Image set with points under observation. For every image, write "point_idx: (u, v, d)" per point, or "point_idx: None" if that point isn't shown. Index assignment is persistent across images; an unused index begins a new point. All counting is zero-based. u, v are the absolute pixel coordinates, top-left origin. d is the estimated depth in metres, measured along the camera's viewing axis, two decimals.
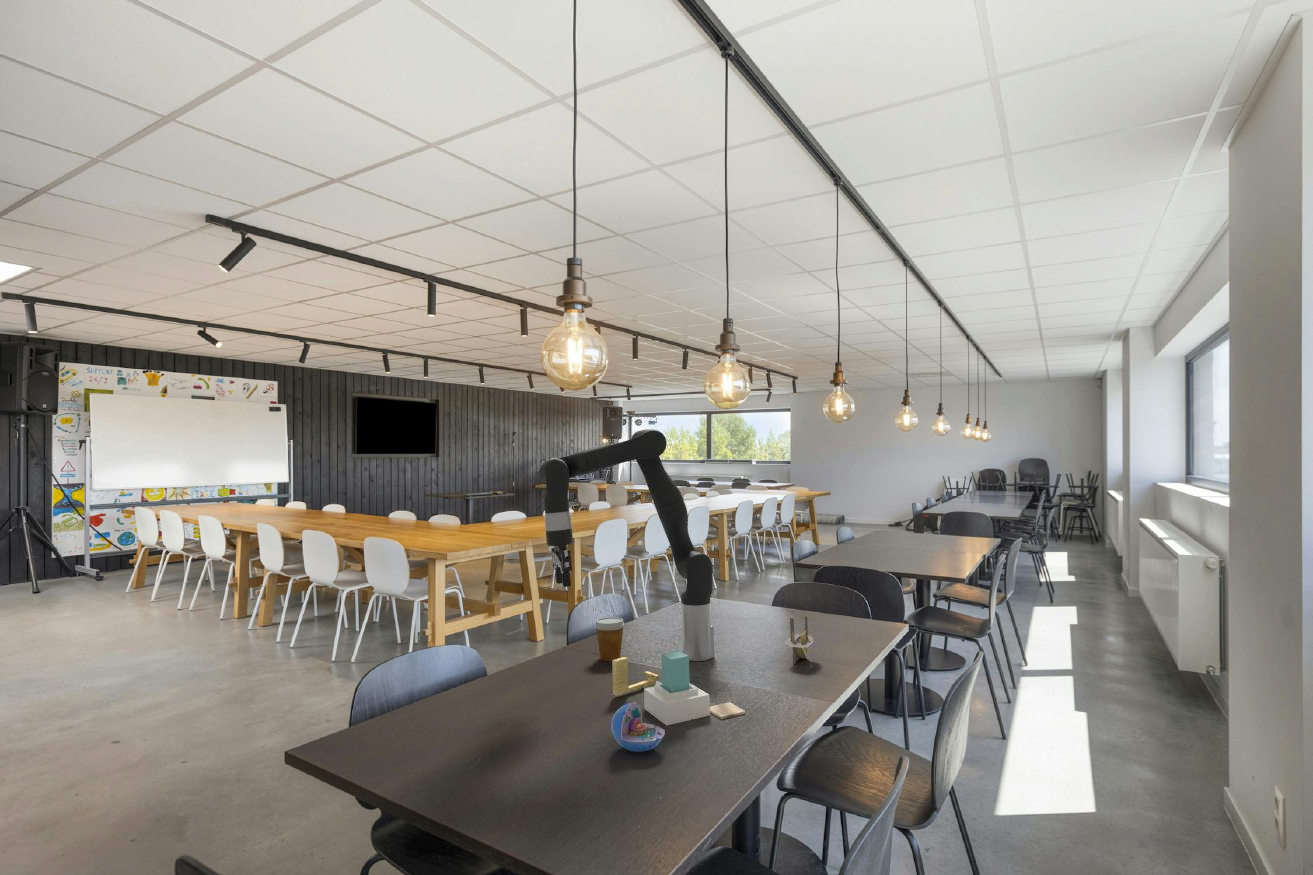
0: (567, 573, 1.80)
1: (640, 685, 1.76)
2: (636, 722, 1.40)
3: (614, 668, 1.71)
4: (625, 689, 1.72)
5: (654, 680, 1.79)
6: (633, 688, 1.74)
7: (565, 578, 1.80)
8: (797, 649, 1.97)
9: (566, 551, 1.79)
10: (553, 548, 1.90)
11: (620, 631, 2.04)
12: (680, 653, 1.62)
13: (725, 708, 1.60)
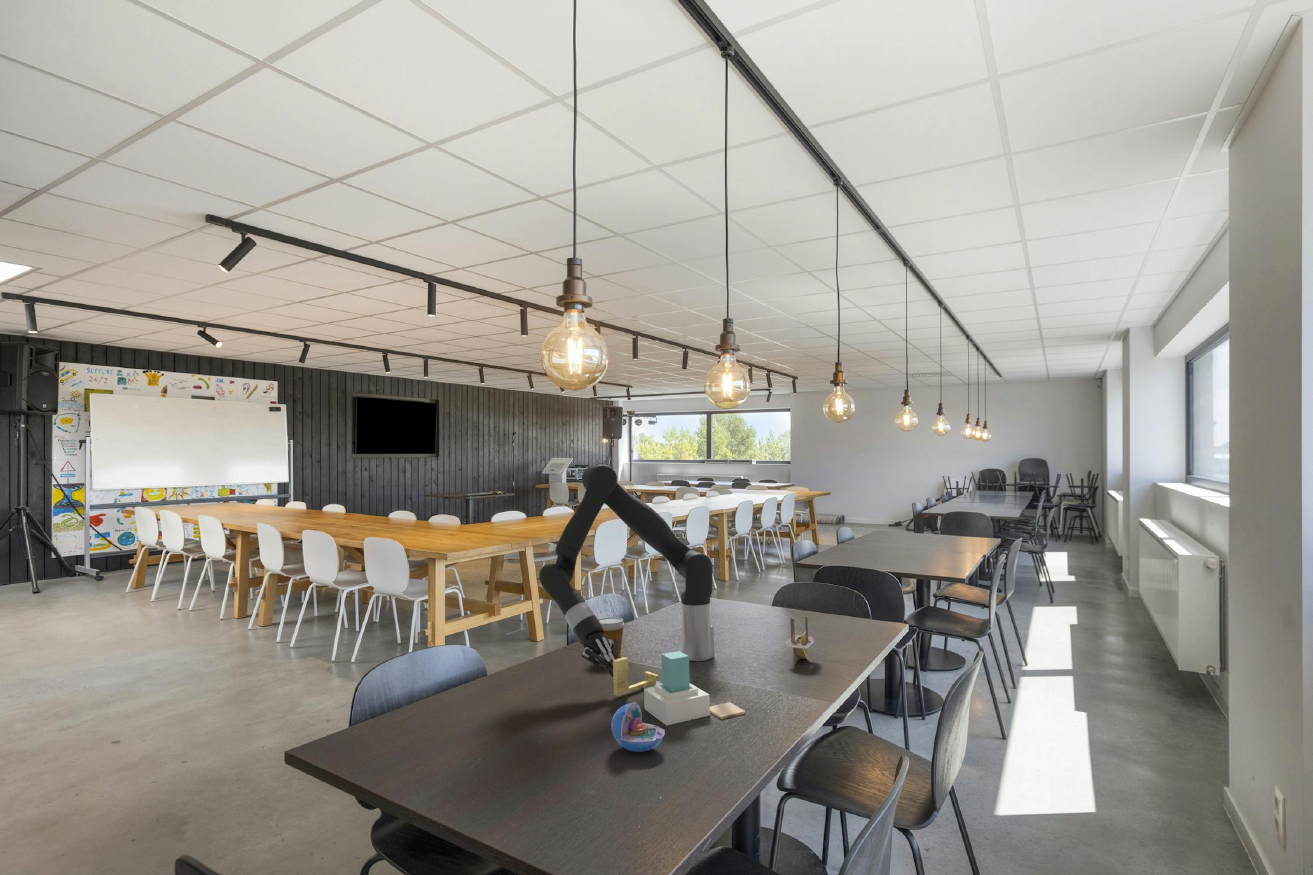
0: (606, 664, 1.73)
1: (640, 685, 1.76)
2: (636, 722, 1.40)
3: (615, 668, 1.71)
4: (626, 689, 1.72)
5: (654, 680, 1.79)
6: (633, 688, 1.74)
7: (607, 670, 1.73)
8: (797, 650, 1.96)
9: (585, 653, 1.72)
10: None
11: (620, 631, 2.04)
12: (680, 653, 1.62)
13: (725, 708, 1.60)
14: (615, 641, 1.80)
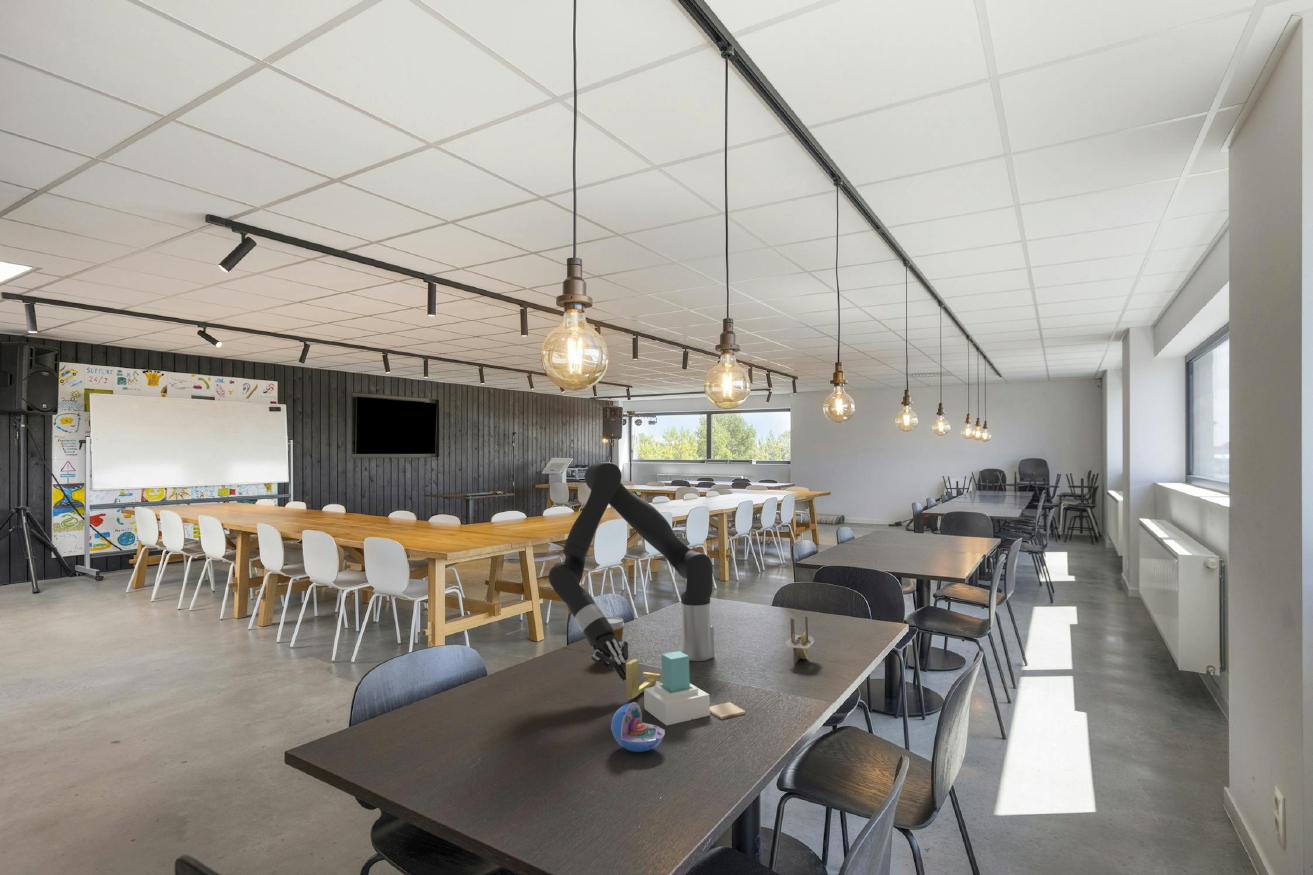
0: (616, 667, 1.71)
1: (646, 686, 1.75)
2: (636, 722, 1.40)
3: (628, 671, 1.68)
4: (637, 691, 1.70)
5: (655, 680, 1.79)
6: (641, 690, 1.73)
7: (618, 672, 1.71)
8: (797, 650, 1.96)
9: (595, 656, 1.70)
10: None
11: (620, 631, 2.04)
12: (680, 653, 1.62)
13: (725, 708, 1.60)
14: (625, 643, 1.78)
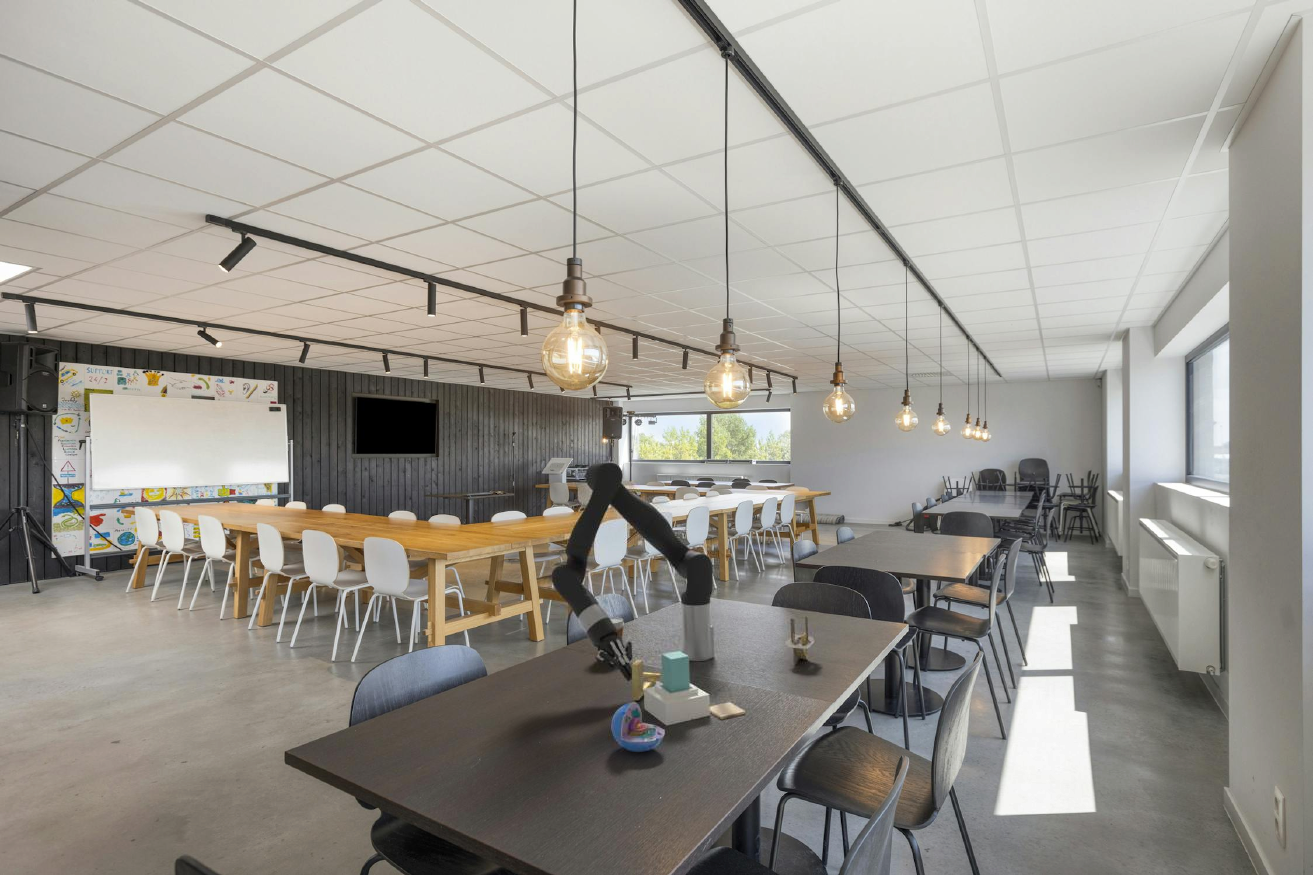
0: (621, 667, 1.70)
1: (648, 686, 1.75)
2: (636, 722, 1.40)
3: (635, 672, 1.67)
4: (642, 692, 1.70)
5: (655, 679, 1.79)
6: None
7: (622, 673, 1.70)
8: (797, 650, 1.96)
9: (599, 656, 1.69)
10: None
11: (620, 631, 2.04)
12: (680, 653, 1.62)
13: (725, 708, 1.60)
14: (629, 643, 1.77)
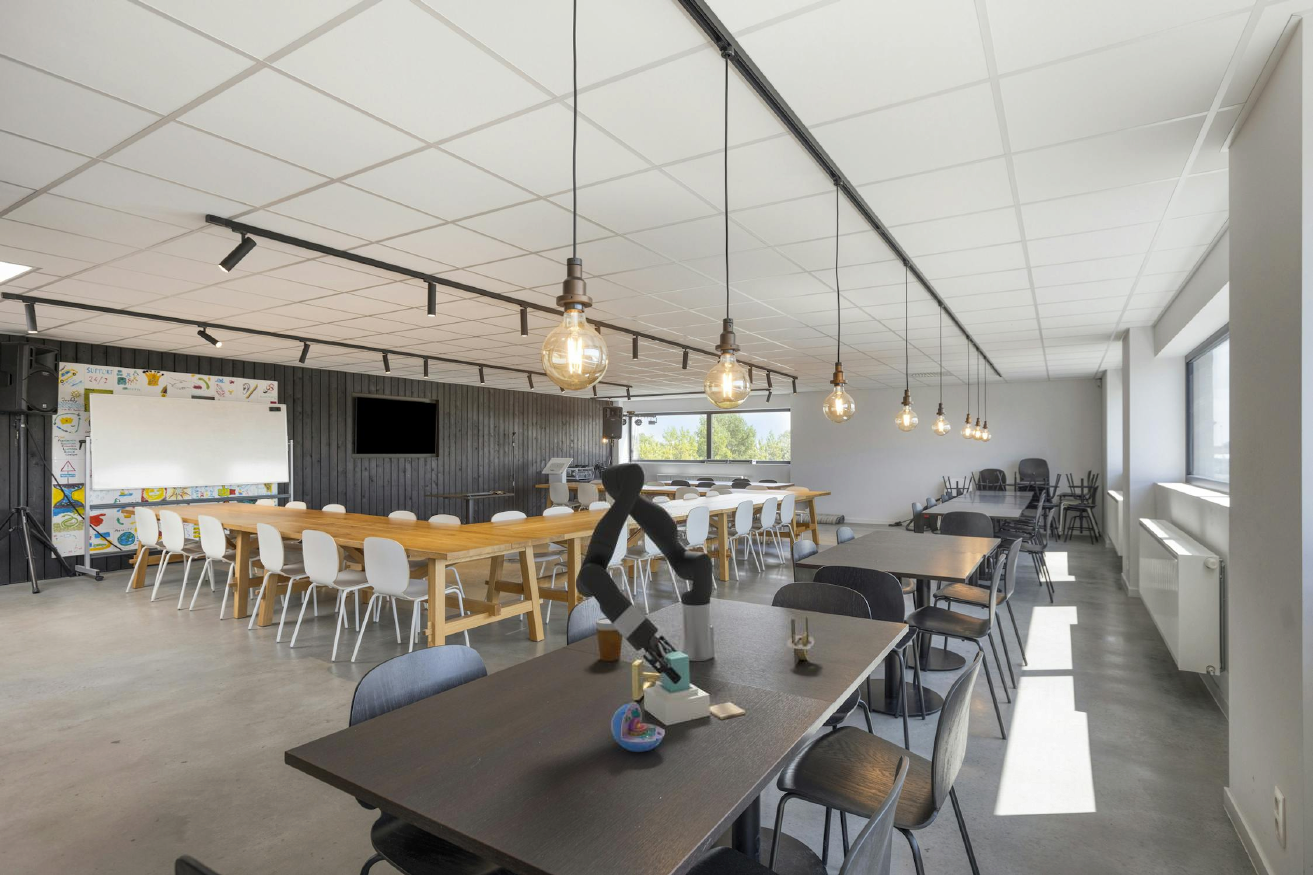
0: (667, 670, 1.56)
1: (648, 686, 1.75)
2: (636, 722, 1.40)
3: (635, 672, 1.67)
4: (642, 692, 1.70)
5: (655, 679, 1.79)
6: None
7: (669, 676, 1.56)
8: (798, 650, 1.95)
9: (647, 654, 1.55)
10: None
11: None
12: (680, 653, 1.62)
13: (725, 708, 1.60)
14: (663, 638, 1.68)
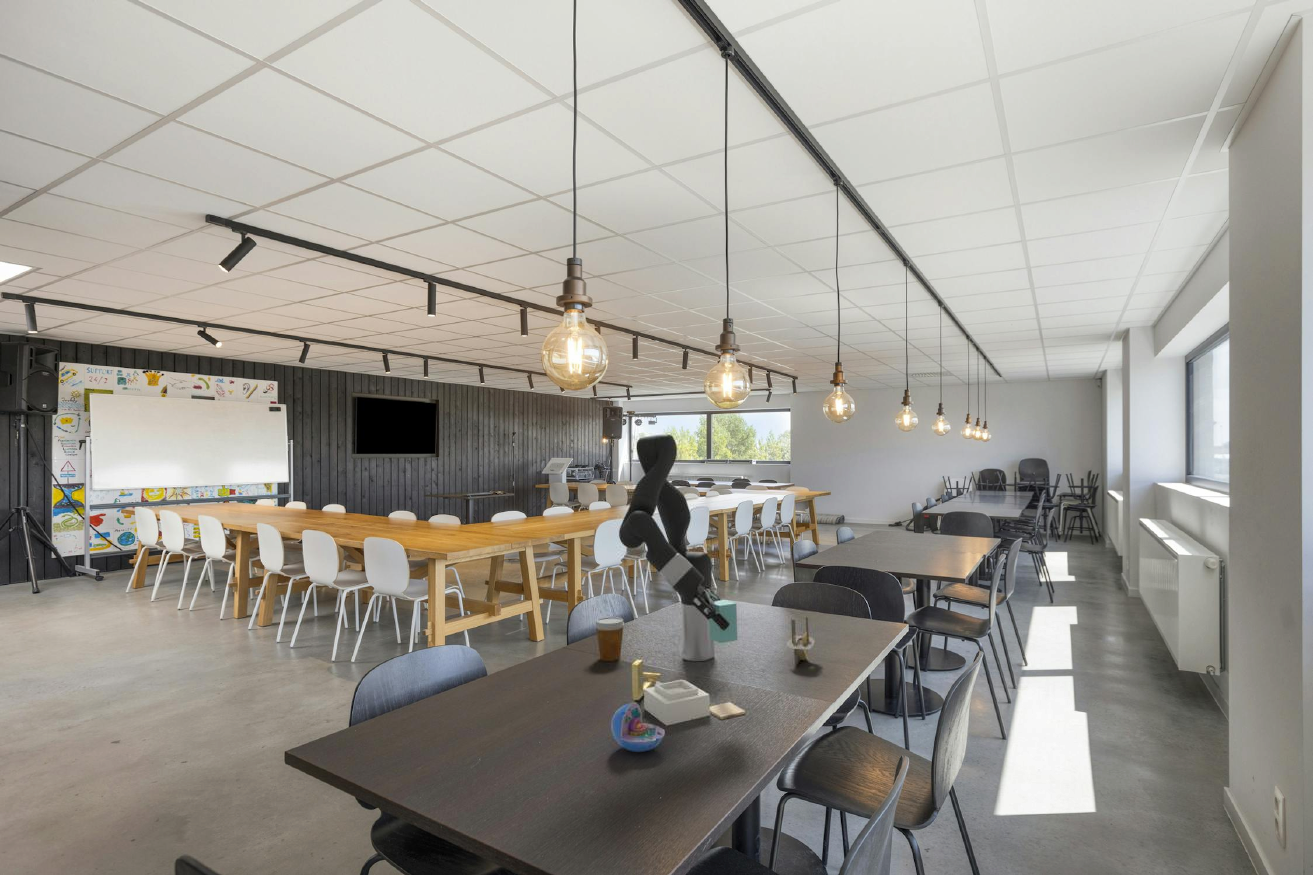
0: (716, 616, 1.56)
1: (648, 686, 1.75)
2: (636, 722, 1.40)
3: (635, 672, 1.67)
4: (642, 692, 1.70)
5: (655, 679, 1.79)
6: None
7: (718, 622, 1.56)
8: (798, 651, 1.95)
9: (696, 599, 1.55)
10: None
11: (620, 631, 2.04)
12: (727, 601, 1.62)
13: (725, 708, 1.60)
14: (708, 588, 1.67)
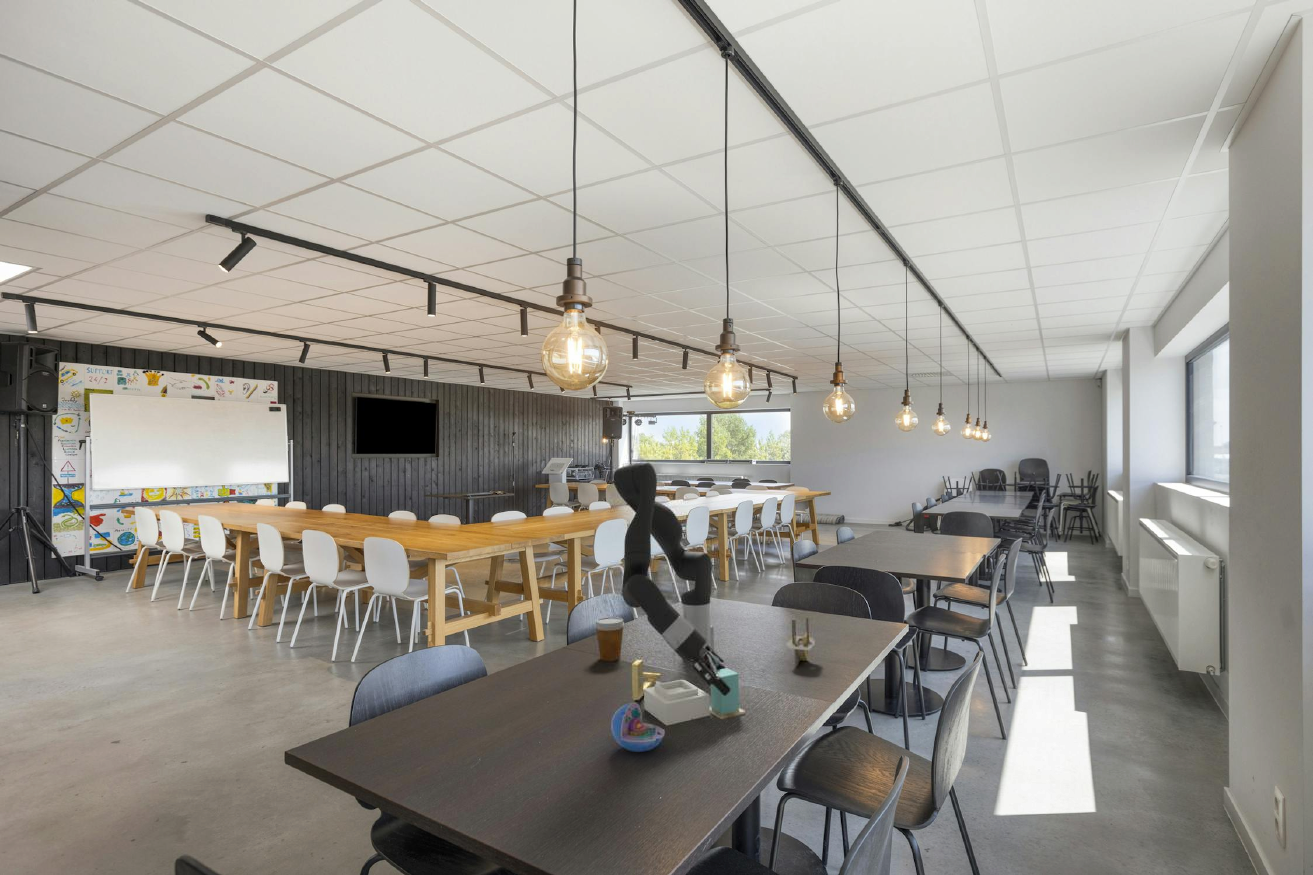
0: (716, 682, 1.55)
1: (648, 686, 1.75)
2: (636, 722, 1.40)
3: (635, 672, 1.67)
4: (642, 692, 1.70)
5: (655, 679, 1.79)
6: None
7: (719, 687, 1.55)
8: (799, 651, 1.95)
9: (697, 664, 1.55)
10: None
11: (620, 631, 2.04)
12: (729, 670, 1.61)
13: None
14: (709, 648, 1.67)
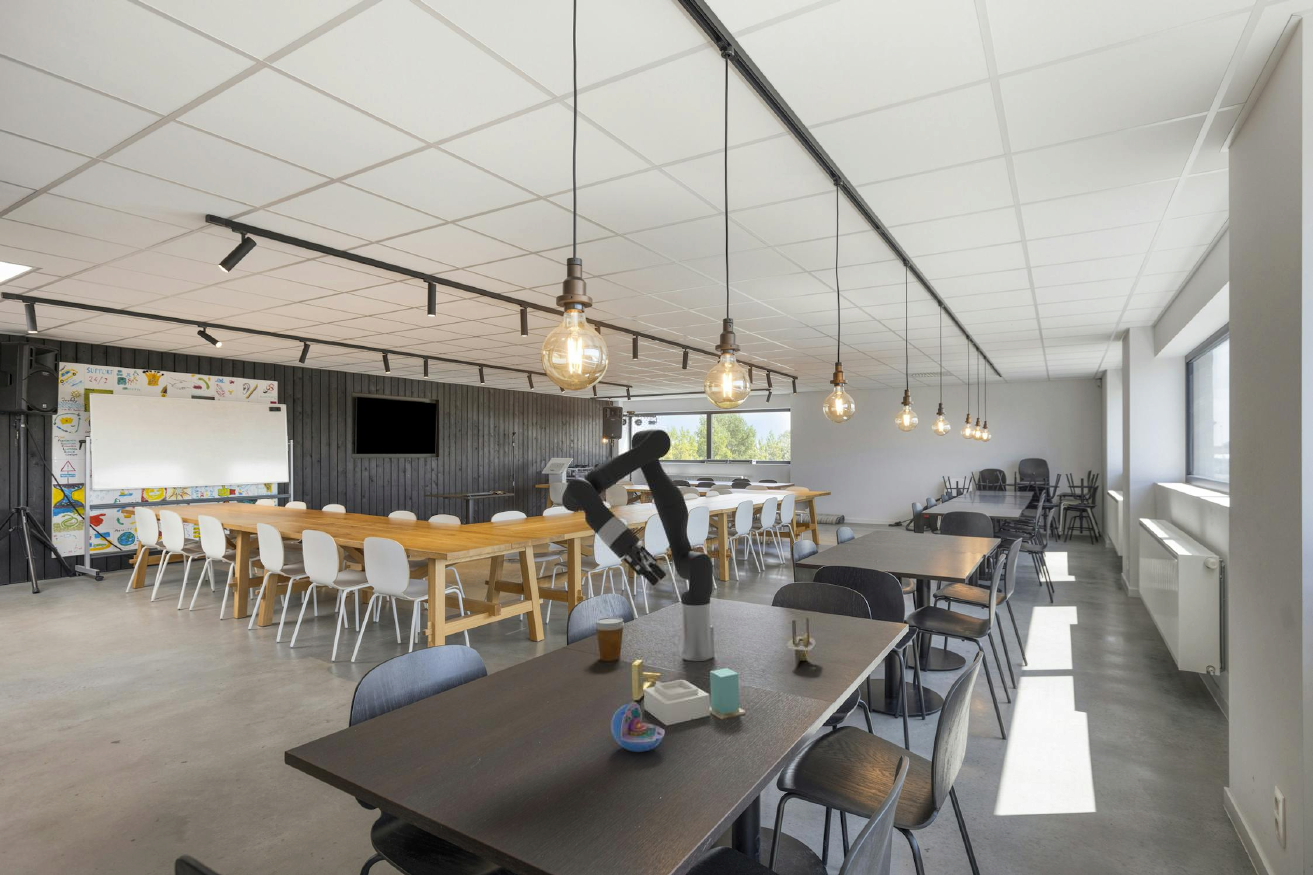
0: (646, 573, 1.68)
1: (648, 686, 1.75)
2: (636, 722, 1.40)
3: (635, 672, 1.67)
4: (642, 692, 1.70)
5: (655, 679, 1.79)
6: None
7: (648, 578, 1.68)
8: (799, 651, 1.94)
9: (627, 556, 1.67)
10: None
11: (620, 631, 2.04)
12: (729, 670, 1.61)
13: None
14: (644, 548, 1.80)
